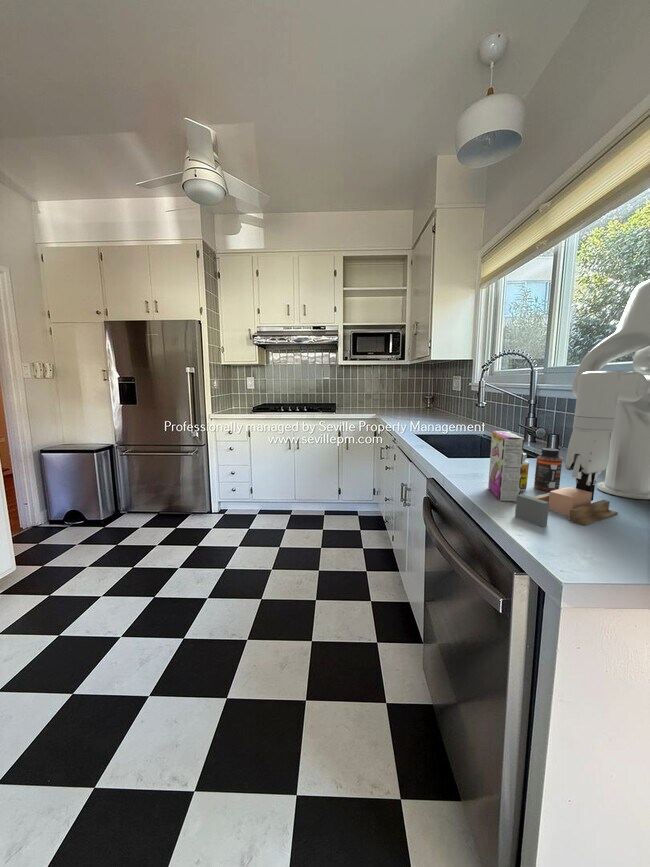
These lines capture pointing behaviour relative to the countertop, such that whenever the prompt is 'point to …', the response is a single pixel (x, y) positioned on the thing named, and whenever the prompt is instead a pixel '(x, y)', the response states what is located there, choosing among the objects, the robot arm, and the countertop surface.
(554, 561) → the countertop surface
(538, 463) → the supplement bottle
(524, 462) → the supplement bottle
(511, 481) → the candy bar box
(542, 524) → the block
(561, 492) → the block
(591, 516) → the chute
